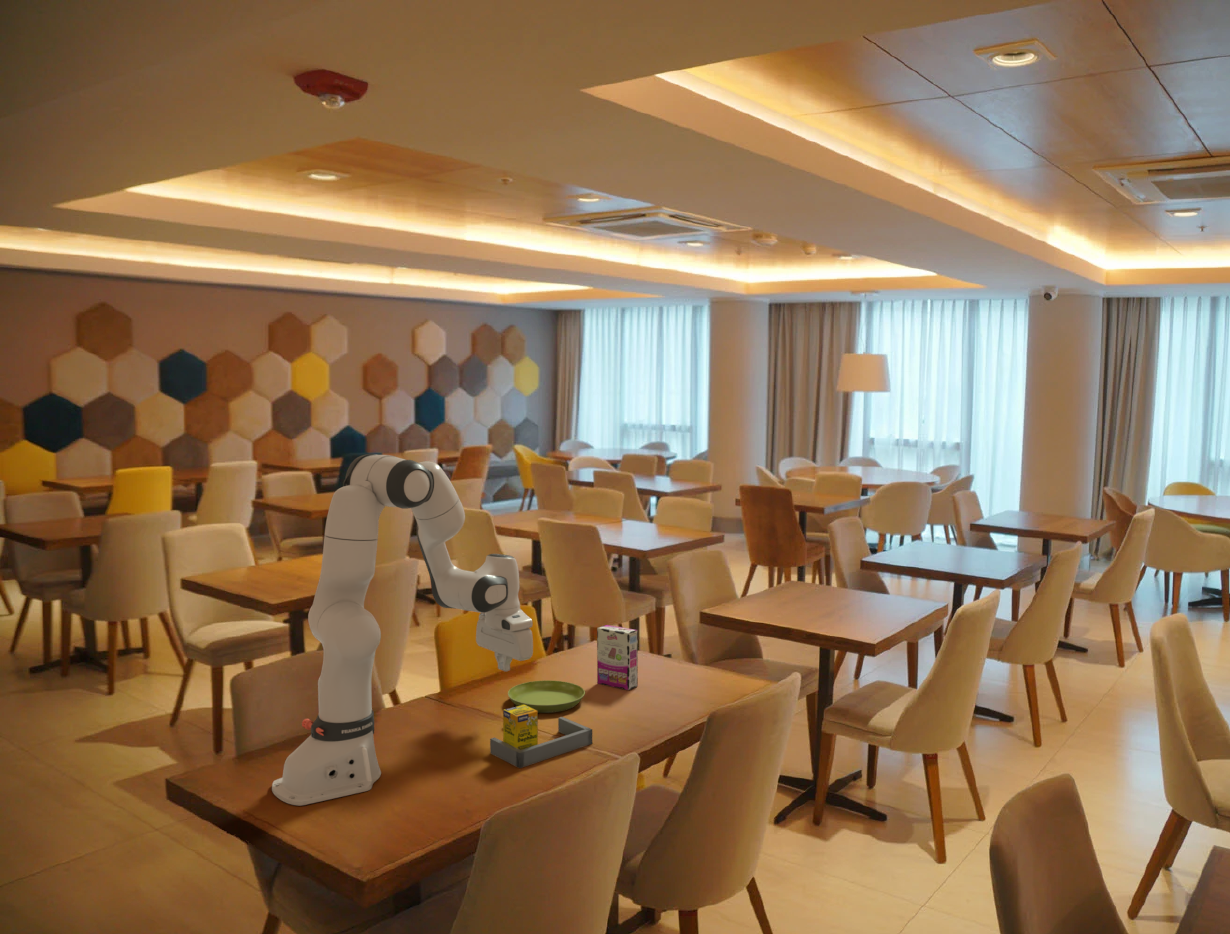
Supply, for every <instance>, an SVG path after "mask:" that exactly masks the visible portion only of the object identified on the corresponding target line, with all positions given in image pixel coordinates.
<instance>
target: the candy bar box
mask: <svg viewBox="0 0 1230 934" xmlns="http://www.w3.org/2000/svg"><path fill="white" fill-rule="evenodd" d="M638 637H639V634H638V629H632V628H627V627H623V626H616V625H615V626H614V625H610V624H606V625H602V626H599V627H597V628H596V643H597V644H596V651H597V652H596V657H597V659H596V664H597V665H596V666H597V668H596V670H597V674H596V676H597V680H596V681H597V682H596V683H597V684H599V685H602V686H606V687H611V688H616V689H620V690H626V691H630V690H633V689H636V688H637V687H638V685H639V684H638V679H639V678H638V677H639V676H638V675H639V674H638V673H639V672H638V668H639V667H638V662H639V661H638V660H639V659H638V656H639V655H638V654H639V653H638V649H639V648H638V647H639V646H638Z"/></svg>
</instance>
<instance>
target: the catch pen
mask: <svg viewBox="0 0 1230 934" xmlns="http://www.w3.org/2000/svg"><path fill="white" fill-rule="evenodd" d="M557 719H558V726H557V728H558V732H559V733H561V734H563V735H562V736H561V737H558V738H554V739H551V740H548V741H544V742H541V743H538V745H535V746H532V747H529V748H526V749H523V750H519V749H517V748H515V747H513V746H511V745H509V744H507V743H505V742H503V741H502V740H501V739H498V738H497V737H491V738H489V743H490V744H489V746H490V747H489V749H490V751H489V753H490V754H491V755H493V756H495V757H497V758H499V759H501V760H503V761H504V762H506V763H508V764H511V765H512V766H514V767H516V768H519V769H522V768H524V767H527V766H531V765H533V764H536V763H539V762H542V761H546V760H548V759H551V758H554V757H556V756H560V755H563V754H566V753H569V752H571V751H575V750H577V749H581V748H583V747H586V746H589V745H592V744H593V729H592V728H590V727H587V726H585V725H582V724H580V723H578V722H576V721H574V720H571V719H568V718H566V717H563V716H560V717H558V718H557Z"/></svg>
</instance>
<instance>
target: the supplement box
mask: <svg viewBox="0 0 1230 934" xmlns="http://www.w3.org/2000/svg"><path fill="white" fill-rule="evenodd" d="M538 714H539V713H538V711H536V710H535V709H532V708H530V707H528V706H526V705H521V706H515V707H514V706H512V707H510V708H505V709H503V710H502V719H503V720H502V731H503V732H502V733H503V735H502V738H503V739H502V740H503V742H505V743H507V744H509V745H511V746H513V747H515V748H517V749H519V750H523V749H526V748H529V747H532V746H535V745H538V744H539V742H538V739H539V738H538V731H539V728H538V726H539V725H538V723H539V722H538Z"/></svg>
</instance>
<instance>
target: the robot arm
mask: <svg viewBox="0 0 1230 934" xmlns="http://www.w3.org/2000/svg"><path fill="white" fill-rule="evenodd" d="M385 507H390V508H399V509H402V510H403V509H410V510H411V512H412V514H413V517H414V519H415V521H416V523H417V527H416V538H417V543H418V545H419V549H420V552H421V555H422V557H423V560H424V563H425V566H426V569H427V571H428V576H429V578H430V585H431V593H432V597H433V599H434V601H435V603H436V604H438V606H440V607H441V608H444V609H445V608H446V609H457V610H462V611H468V612H474V613H475V612H476V613H479V615H478V620H477V624H476V632H475V633H476V634H475V642H476V644H477V646H478V647H480V648H482V649H483V648H484V649H487V650H488V651H492V652H494V658H495V660H496V663H497V669H498V670H501V671H503V672H508V671H511V662H513V659H514V660H515V661H516V660H517V661H520V662H522V661H526V660H530V659H531V658H532V657H533V653H534V640H533V631H532V630H531V628H532V627H533V620H532V618H531V617H530V616H528V615H527V614H526V613H525V612H524V611H523V610H522V609H521V603H520V599H519V591H520V571H519V565H518V562H517V559H516V558H515V556H513V555H510V554H509V555H508V554H501V553H489V554H487V555H486V556H485V561H484V562H483V564H482V565H481V566H480V567H479V568H477V569H476V570H474V571H472V570H471V571H470V570H466V569H462V568H460V567H458V566H456V565H454V564H453V562H452V560H451V557H450V553H449V551H448V549H447V545H446V542H448V541H449V540H451V539H452V538H454V537H455V536H456V535H457V534H459V532H460V531H461V530H462V528H463V527H464V524H465V520H466V513H465V509H464V506H463V503H462V501H461V500H460V497H459V495H458V492H457V491H456V489H455V487H454V485H453V483H452V482H451V480H450V479H449V476H447V473H446V472H445V471H444V469H442V467H441V466H440V465H439V464H438V463H436V462H435V461H429V460H427V461H421V462H417V461H416V460H411V459H405V458H401V457H398V456H395V455H389V454H376V453H367V454H363V455H360V456H358V457H356V458H355V459H354V460H353V461H352V462H351V463H350V464H349V466H348V468H347V470H346V474H345V479H344V480H343V486H342V487H340V488H338V489H336V490H335V492H334V493H333V495H332V497H331V501H330V504H329V507H328V513H327V516H326V521H325V527H324V539H323V547H322V548H323V549H322V560H321V569H320V575H319V580H318V583H317V587H316V590H315V593H314V598H313V602H312V605H311V607H310V609H309V611H308V615H307V621H308V625H309V626H308V627H309V630H310V632H311V633H312V634H311V635H312V636H313V637H314V638H315V639H316V640H317V641H319V642H320V643H321V645H322V648H323V660H322V666H321V673H320V676H319V678H318V680H317V686H318V687H317V693H318V695H317V699H318V715H317V716H316V719H315V720H314V721H313V720H311V719H310V718H304V719H303V720H302V722H301V727H302V728H304V729H306V730H308V731H310V735H309V736H308V737H307V738H306V739H305V740H304V741H303V742H301V743H300V745H299V746H298V747H297V748H296V749H294V750H293V751H292V752H291V753H290V754H289V755H288V756H287V757H286V760H285V761H284V764H283V771H282V777H280V778H277V779H275V780H273V782H272V784H271V791H272V794H273V795H274V796H275V797H276V798H278V799H279V800H280V801H282V802H283V803H286V804H288V805H292V806H297V807H298V806H300V807H301V806H306V805H310V804H311V805H312V804H315V803H319V802H323V801H329V800H332V799H338V798H341V797H346V796H350V795H354V794H359V793H363V792H367V791H370V790H372V788H373V784H374V783H375V782H377V780H379V778H380V777H381V774H382V771H381V768H380V765H379V763H378V762H379V761H378V758H377V755H376V747H375V739H374V734H375V714H374V710H373V709H372V708H373V706H372V705H373V704H372V703H373V702H372V676H373V675H372V673H373V667H374V663H375V657H376V650H377V649H378V648H379V645H380V643H381V636H382V635H381V634H382V633H381V629H380V625H379V623H378V621H377V620H376V618H375V616H374V615H373V613H371V612H370V611H369V610H367V609H366V608H365V599H366V595H367V592H368V588H369V586H370V583H371V581H372V579H373V578H374V577H375V572H376V562H377V552H378V551H377V550H378V540H379V522H380V521H379V520H380V518H381V517H380V516H381V514H382V512H383V511H384V509H385Z"/></svg>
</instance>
